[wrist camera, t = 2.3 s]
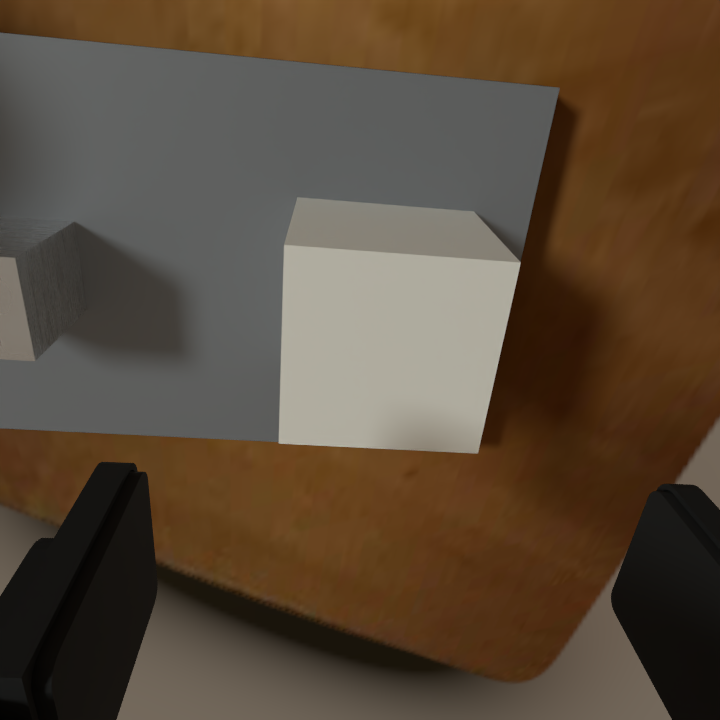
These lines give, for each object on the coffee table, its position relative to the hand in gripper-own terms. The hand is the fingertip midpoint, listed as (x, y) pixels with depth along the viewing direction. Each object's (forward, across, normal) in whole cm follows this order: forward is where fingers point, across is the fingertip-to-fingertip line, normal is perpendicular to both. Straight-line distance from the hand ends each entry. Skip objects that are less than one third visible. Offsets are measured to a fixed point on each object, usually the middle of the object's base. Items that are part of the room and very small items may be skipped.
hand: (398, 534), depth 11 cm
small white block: (+12, +12, -1) cm, 17 cm away
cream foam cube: (+12, 0, -1) cm, 12 cm away
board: (+13, +6, -1) cm, 14 cm away
